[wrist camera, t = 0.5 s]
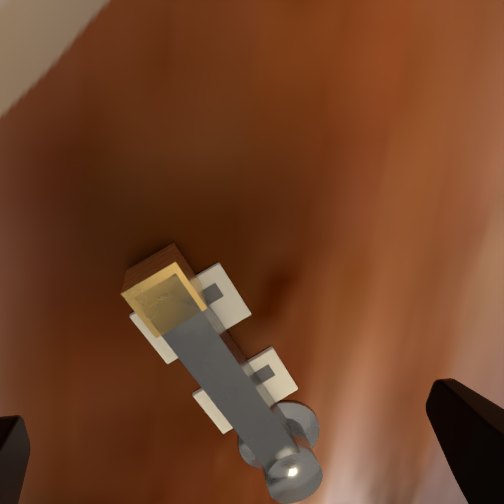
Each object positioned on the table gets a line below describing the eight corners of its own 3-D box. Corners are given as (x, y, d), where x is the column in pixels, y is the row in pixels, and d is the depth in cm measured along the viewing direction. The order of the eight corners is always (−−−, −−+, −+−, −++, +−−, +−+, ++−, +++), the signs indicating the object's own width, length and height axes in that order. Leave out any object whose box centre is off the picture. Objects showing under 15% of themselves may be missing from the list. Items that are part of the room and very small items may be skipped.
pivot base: (261, 479, 29) (262, 483, 29) (222, 430, 27) (223, 433, 27) (329, 438, 29) (331, 441, 29) (297, 386, 27) (298, 389, 27)
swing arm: (311, 441, 28) (330, 483, 25) (269, 466, 28) (283, 511, 25) (178, 239, 21) (181, 262, 18) (121, 273, 21) (114, 301, 18)
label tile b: (167, 361, 24) (167, 365, 24) (129, 314, 22) (129, 317, 22) (250, 312, 24) (252, 315, 24) (218, 261, 23) (219, 264, 22)
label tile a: (222, 430, 27) (223, 434, 26) (192, 392, 25) (192, 396, 25) (297, 386, 27) (298, 389, 27) (271, 345, 25) (273, 349, 25)
